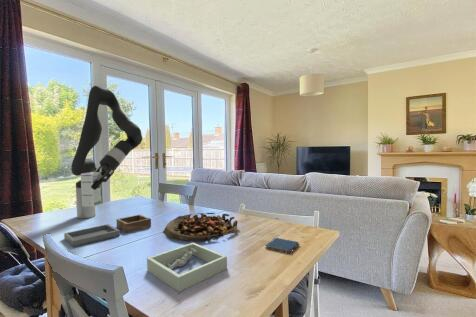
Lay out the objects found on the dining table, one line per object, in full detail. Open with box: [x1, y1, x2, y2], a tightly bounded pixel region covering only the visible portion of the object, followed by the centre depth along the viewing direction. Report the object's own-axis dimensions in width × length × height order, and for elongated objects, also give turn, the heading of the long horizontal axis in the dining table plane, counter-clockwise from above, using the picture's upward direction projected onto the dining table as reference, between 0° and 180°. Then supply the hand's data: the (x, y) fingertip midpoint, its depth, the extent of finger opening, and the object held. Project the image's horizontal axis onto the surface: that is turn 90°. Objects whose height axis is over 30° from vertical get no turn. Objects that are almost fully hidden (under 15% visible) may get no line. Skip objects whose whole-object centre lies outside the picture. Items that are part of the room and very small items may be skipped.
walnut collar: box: [116, 214, 152, 233], centre depth 128 cm, size 12×12×4 cm
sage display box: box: [146, 242, 228, 293], centre depth 82 cm, size 18×18×4 cm
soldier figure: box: [167, 248, 197, 271], centre depth 86 cm, size 8×5×12 cm
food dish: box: [162, 212, 239, 242], centre depth 122 cm, size 35×33×8 cm
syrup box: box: [80, 172, 104, 207], centre depth 113 cm, size 6×6×14 cm
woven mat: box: [264, 237, 300, 254], centre depth 100 cm, size 10×11×2 cm
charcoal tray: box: [63, 223, 121, 248], centre depth 113 cm, size 14×18×2 cm
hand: (88, 187), depth 111 cm, fingers closed on syrup box, 7 cm apart
